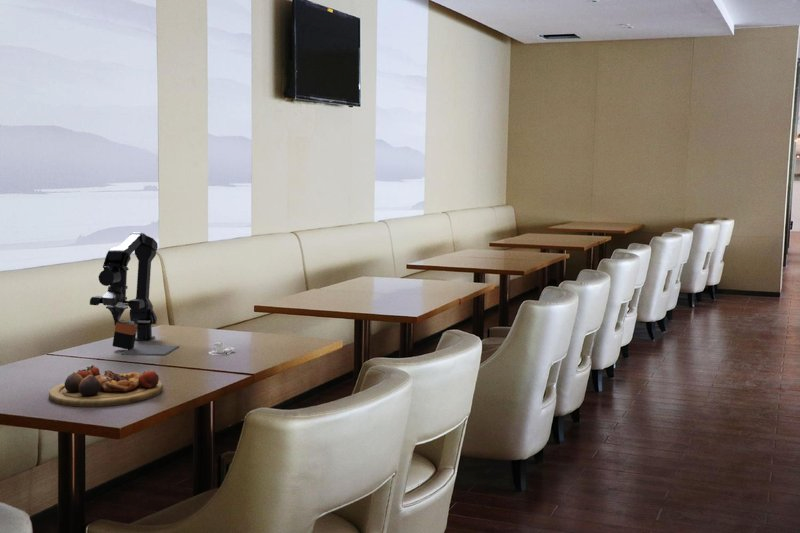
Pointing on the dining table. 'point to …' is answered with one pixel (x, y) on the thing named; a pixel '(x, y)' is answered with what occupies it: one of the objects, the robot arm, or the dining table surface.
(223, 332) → the dining table surface
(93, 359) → the dining table surface
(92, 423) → the dining table surface
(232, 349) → the teacup and saucer
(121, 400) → the wooden plate with food
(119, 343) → the battery
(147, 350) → the mat
